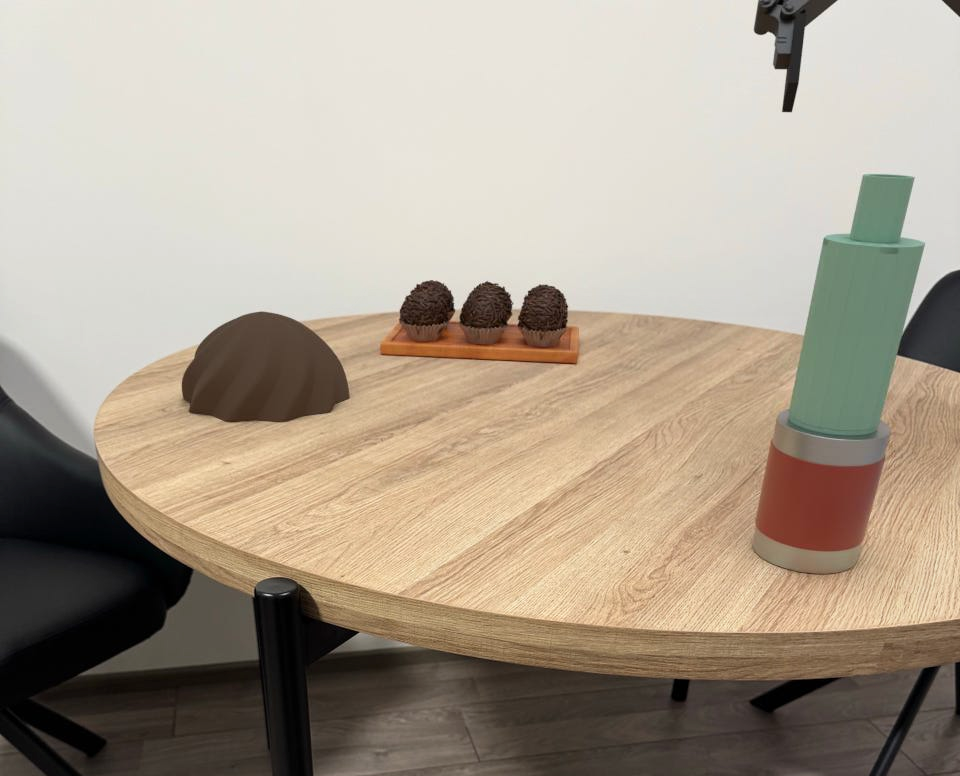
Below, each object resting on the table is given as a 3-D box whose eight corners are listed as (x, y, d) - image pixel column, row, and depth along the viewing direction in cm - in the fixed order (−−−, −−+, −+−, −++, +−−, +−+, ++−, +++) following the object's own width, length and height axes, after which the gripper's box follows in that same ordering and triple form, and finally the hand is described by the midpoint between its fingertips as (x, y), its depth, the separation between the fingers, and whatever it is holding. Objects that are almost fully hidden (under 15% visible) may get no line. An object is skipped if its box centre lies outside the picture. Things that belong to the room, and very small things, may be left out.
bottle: (862, 411, 73) (920, 173, 64) (890, 437, 67) (957, 181, 58) (779, 408, 73) (825, 171, 64) (800, 434, 67) (854, 178, 58)
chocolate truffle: (578, 337, 141) (582, 280, 137) (577, 364, 127) (581, 301, 122) (401, 329, 143) (399, 272, 139) (380, 354, 129) (378, 292, 125)
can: (840, 532, 79) (871, 408, 73) (872, 577, 72) (909, 442, 66) (741, 528, 79) (764, 404, 74) (763, 572, 72) (790, 438, 66)
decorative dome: (328, 371, 121) (323, 292, 116) (364, 414, 105) (360, 325, 100) (178, 381, 115) (165, 299, 110) (191, 429, 99) (177, 335, 94)
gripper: (1050, -72, 74) (1042, 144, 69) (737, -69, 78) (709, 134, 74) (1097, -175, 67) (1092, 59, 62) (749, -165, 71) (719, 53, 66)
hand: (884, 100), depth 68 cm, fingers open, 13 cm apart
